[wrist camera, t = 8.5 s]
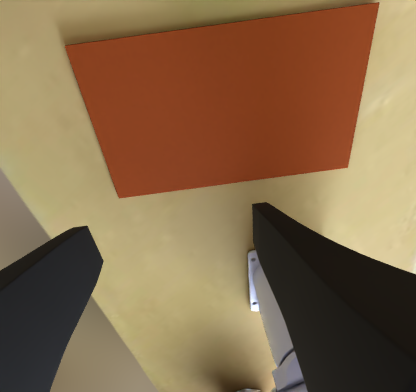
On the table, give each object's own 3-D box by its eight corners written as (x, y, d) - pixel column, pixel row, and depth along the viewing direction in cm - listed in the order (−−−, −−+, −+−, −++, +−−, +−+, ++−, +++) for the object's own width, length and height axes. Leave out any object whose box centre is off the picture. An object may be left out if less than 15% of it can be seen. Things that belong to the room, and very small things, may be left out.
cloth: (344, 166, 19) (347, 167, 18) (120, 196, 19) (118, 198, 18) (375, 4, 14) (379, 2, 13) (67, 46, 14) (64, 45, 13)
